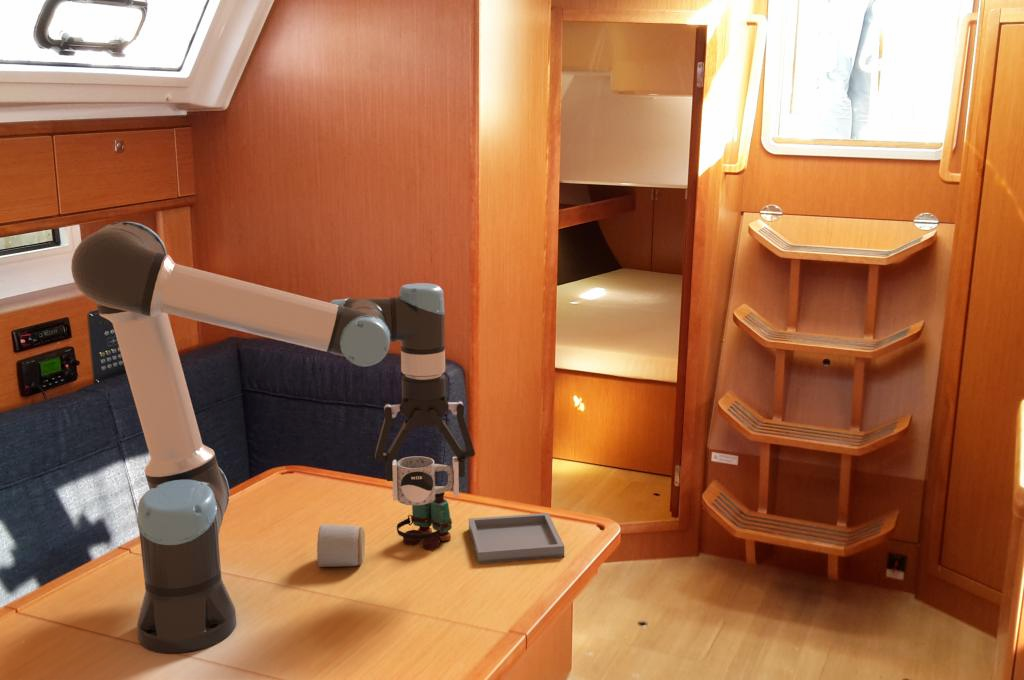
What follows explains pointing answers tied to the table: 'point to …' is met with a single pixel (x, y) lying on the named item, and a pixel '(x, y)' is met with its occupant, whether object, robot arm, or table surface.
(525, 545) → the tray
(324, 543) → the ceramic mug
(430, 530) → the binoculars
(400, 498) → the mug
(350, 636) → the table surface
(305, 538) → the table surface
